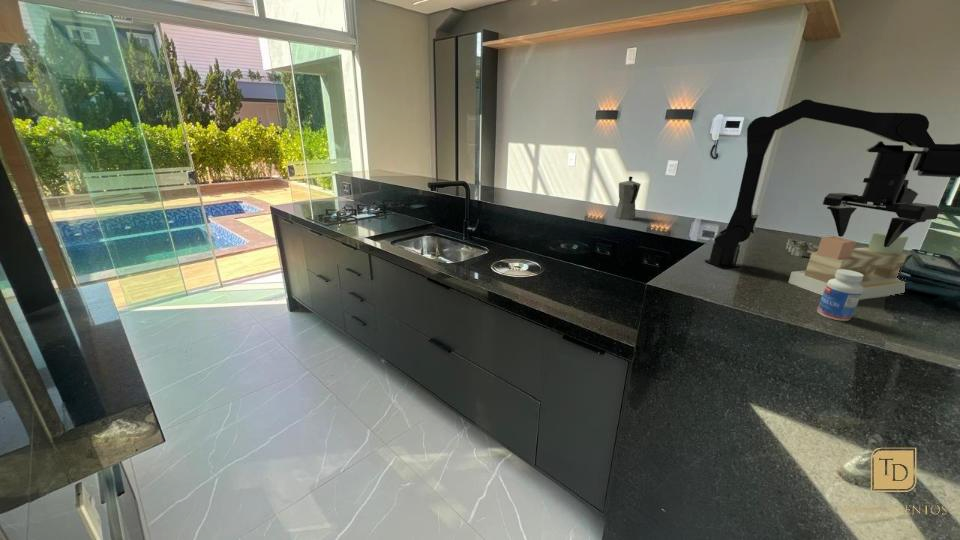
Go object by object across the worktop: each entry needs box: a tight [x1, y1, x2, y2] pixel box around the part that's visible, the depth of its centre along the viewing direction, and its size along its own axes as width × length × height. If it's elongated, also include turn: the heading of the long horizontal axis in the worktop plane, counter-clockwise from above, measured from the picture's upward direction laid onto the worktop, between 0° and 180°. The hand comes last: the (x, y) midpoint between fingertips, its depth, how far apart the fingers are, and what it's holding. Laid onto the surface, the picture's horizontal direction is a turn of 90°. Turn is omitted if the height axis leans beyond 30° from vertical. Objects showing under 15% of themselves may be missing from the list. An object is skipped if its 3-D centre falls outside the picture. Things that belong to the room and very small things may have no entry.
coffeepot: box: [614, 176, 641, 221], centre depth 163 cm, size 15×9×18 cm, turn 178°
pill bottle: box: [816, 269, 864, 322], centre depth 77 cm, size 6×5×10 cm
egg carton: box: [785, 237, 819, 258], centre depth 119 cm, size 11×8×4 cm
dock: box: [787, 269, 906, 301], centre depth 92 cm, size 22×12×3 cm, turn 104°
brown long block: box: [805, 246, 908, 283], centre depth 91 cm, size 21×6×6 cm, turn 104°
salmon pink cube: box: [816, 235, 857, 259], centre depth 87 cm, size 4×4×4 cm
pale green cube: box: [868, 232, 909, 254], centre depth 91 cm, size 4×4×4 cm
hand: (862, 241), depth 89 cm, fingers open, 9 cm apart
